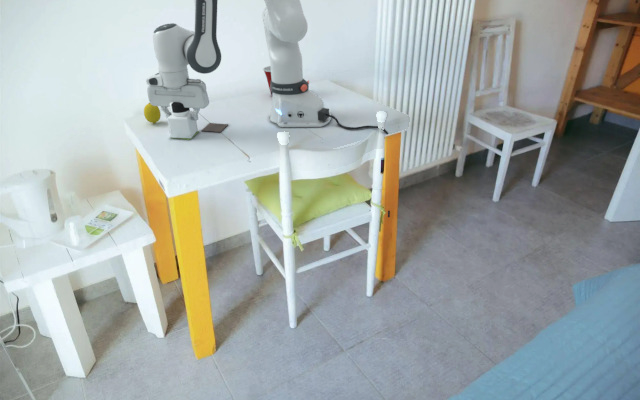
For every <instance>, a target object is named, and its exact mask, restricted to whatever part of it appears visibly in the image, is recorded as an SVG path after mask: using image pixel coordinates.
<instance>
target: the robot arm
mask: <svg viewBox="0 0 640 400" xmlns="http://www.w3.org/2000/svg"><path fill="white" fill-rule="evenodd" d="M218 2H219V1H218V0H193V3H194V27H193V29H194V30H190V29H186V28H184V27H183V26H180V25H178V24H177V23H173V22H172V23H171V22H170V23H166V24H162V25H160V26H158V27H156V28H155V29H154V30H153V32H152V33H153V34H152V42H153V43H152V44H153V49H154V54H155V58H156V60H157V63H158V67H157V68H158V69H157V70H158V72H157V73H154V74H152V75H150V76H149V77H148V78H146V79H145V82H146V85H147V90H146V91H147V92H146V93H147V98H148V103H150V104H151V105H153V106H158V107H160V109H161V111H162V112H163V113H164V114H165V117H166V119H167V118H168V117H169V116H170V115H171V111H170V110H169V109H168V108H170V103H171V102H180V103H182V104H183V105H184V107H185V108H190V109H192V111H195V113H194V114H193V115H192V120H196V121H198V120H199V113H200V110H201V109H203V110H204V109H205V108H208V106H209V104H210V99H209V95H208V91H207V84H206V83H205V82H204V81H203V80H201V78H190V76H189V70H188V69H189V68H188V65H189V67H190V68H191V69H192V70H193V71H195V72H196V73H198V74H210V73H213V72H214V71H216V70H217V69H218V68H219V66H221V61H222V52H221V49H220V46H219V44H218V43H219V42H218V39H217V28H218V27H217V25H218ZM264 3H265V7H264V8H263V11H262V14H261V19H262V23H263V24H262V25H263V29H264V35H265V36H264V37H265V41H266V46H267V51H268V57H269V66H270V67H271V79H272V80H271V84H270V88H271V92H270V95H271V111H270V115H269V120H270V121H271V123H273V124H276V125H278V127H280V128H322V127H324V126H327V125H328V124H329V123H330V121H331V120H332V119H333V120H334V121H335V123H336V124H337V125H338V126H339V127H340V128H342V129H344V130H361V129H379V128H378V125H362V126H356V127H355V126H344V125H342V124H341V123H340V121H339V120H338V118H337V117H336V116H334V115H332V113H331V112H330V108H327V107H326V106H325V102H324V100H323V99H322V98H320V97H319V96H318V95H317V94H315V93H314V92H313V91H312V90H310V88H309V87H310V86H309V85H310V80H309V79H308V80H306V79H305V78H304V77H303V76H304V75H303V56H302V53H301V52H302V51H301V50H300V46H299V42H300V41H302V40H303V39H304V38H305V36H306V35H307V32H308V28H309V27H308V21H307V19H306V16H305V14H304V11H303V7H302V3H301V0H264ZM382 131H383V132H384V133H385V134H386V135H389V132H388V131H387V130H386V128H384V130H382ZM390 217H391V210H387V218H390Z"/></svg>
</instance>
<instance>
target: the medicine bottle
mask: <svg viewBox="0 0 640 400" xmlns="http://www.w3.org/2000/svg"><path fill="white" fill-rule="evenodd" d="M169 109H170V112H171V115H170V116H169V117H168V118H166V119H167V125H168V129H169V134H170V139H171V138H192V136H193V135H194V134H195V133H196V132H197V131H199V128H198V122H197V121H198V120H197V121H196V120H192V115H193V114H194V113H195V111H193V110H191V108H185V107H184V105H183V104H182V103H180V102H171V103H170V107H169ZM192 139H193V138H192Z"/></svg>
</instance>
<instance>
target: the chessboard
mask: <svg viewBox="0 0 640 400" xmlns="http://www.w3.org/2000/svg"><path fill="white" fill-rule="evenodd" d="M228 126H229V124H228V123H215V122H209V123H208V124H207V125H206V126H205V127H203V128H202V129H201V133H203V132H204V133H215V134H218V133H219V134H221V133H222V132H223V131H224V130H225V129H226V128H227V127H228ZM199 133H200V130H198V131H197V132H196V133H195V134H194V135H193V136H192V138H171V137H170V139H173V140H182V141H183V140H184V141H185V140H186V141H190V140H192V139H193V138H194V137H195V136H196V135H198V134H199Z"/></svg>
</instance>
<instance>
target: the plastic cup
mask: <svg viewBox="0 0 640 400" xmlns="http://www.w3.org/2000/svg"><path fill="white" fill-rule="evenodd" d="M262 71H263V72H264V74H265V77H266V81H267V85H268V88H269V91H270V93H271V88H270V84H271V80H272V79H271V67H270V65H268V66H265V67H263V68H262Z"/></svg>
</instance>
